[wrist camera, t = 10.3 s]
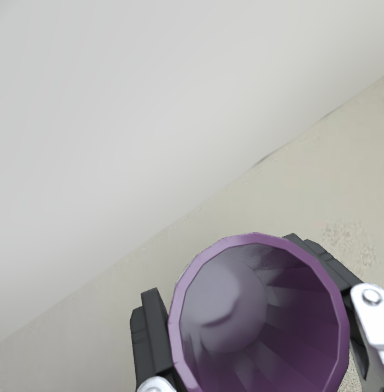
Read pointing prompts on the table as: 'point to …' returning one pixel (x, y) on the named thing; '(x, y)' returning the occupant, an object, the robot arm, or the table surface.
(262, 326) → the cup
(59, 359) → the table surface
